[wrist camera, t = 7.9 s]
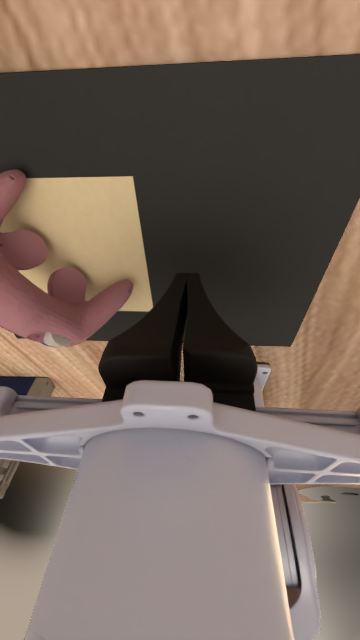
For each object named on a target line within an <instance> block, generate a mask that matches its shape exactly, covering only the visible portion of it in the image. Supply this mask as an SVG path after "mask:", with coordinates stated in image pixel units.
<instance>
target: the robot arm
mask: <svg viewBox="0 0 360 640" xmlns="http://www.w3.org/2000/svg"><path fill="white" fill-rule="evenodd" d="M186 320H187V322H186ZM185 326H186V330H185ZM184 332H185V338H184ZM183 338H184V344H183ZM182 344H183V358H184V382H180V368H181V352H182ZM98 369H99V373H100V375H101V377H102V379H103V381H104V383H105V385H106V389H105V393H104V396H103V399H84V398H64V397H43V396H23V395H17V393H16V392H15V391H14V390H13V389H11V388H9V387H5V386H0V459H8V460H17V461H24V462H32V463H38V464H46V465H51V466H58V467H64V468H71V469H77V474H76V477H75V480H74V483H73V486H72V489H71V493H70V496H69V499H68V502H67V505H66V508H65V511H64V515H63V518H62V521H61V524H60V528H59V530H58V534H57V537H56V540H55V543H54V546H53V550H52V553H51V556H50V559H49V562H48V565H47V568H46V571H45V575H44V578H43V581H42V584H41V587H40V591H39V594H38V597H37V600H36V603H35V606H34V609H33V613H32V616H31V619H30V622H29V625H28V628H27V631H26V635H25V638H24V640H314V639H316V637H317V636H318V634H319V632H320V624H319V619H320V618H321V617H322V613H321V607H320V603H319V597H318V591H317V585H316V580H317V577H316V576H317V575H316V567H315V560H314V555H313V549H312V544H311V539H310V534H309V530H308V525H307V521H306V517H305V513H304V509H303V505H302V501H301V498H300V494H299V491H298V489H297V487H296V486H295V485H294V484H360V408H359V409H358V410H357V411H356V412H351V411H331V410H310V409H289V408H269V407H265V405H264V400H263V394H262V391H263V388H264V386H265V384H266V381H267V379H268V376H269V374H270V372H271V366H270V365H267V364H257V362H256V359H255V356H254V353H253V351H252V349H251V346H250V344H248V343H247V342H246V341H244V340H243V339H242V338H241V337H239V336H238V335H237V334H236V333H235V332H234V331H233V330H232V329H231V328H230V327H229V326H228V325H227V324H226V323H225V322H224V320H223V319H222V318H221V317H220V315H219V314H218V313H217V311H216V310H215V308H214V307H213V305H212V303H211V302H210V300H209V298H208V296H207V294H206V292H205V290H204V287H203V285H202V282H201V278H200V274H199V273H176V274H175V276H174V278H173V280H172V282H171V283H170V285H169V287H168V288H167V290H166V291H165V293H164V294H163V296H162V297H161V298H160V300H159V301H158V302H157V303H156V305H155V306H154V307H153V308H152V309H151V310H150V311H149V312H148V313H147V314H146V315H145V316H144V317H143V318H142V319H141V320H139V321H138V322H137V323H136V324H134V325H133V326H132V327H130V328H129V329H128V330H126V331H124V332H123V333H121V334H119V335H118V336H116V337H114V338H113V339H111V340H109V342H108V344H107V346H106V348H105V350H104V352H103V355H102V357H101V360H100V363H99V367H98ZM281 484H282V488H281ZM282 492H283V493H282Z"/></svg>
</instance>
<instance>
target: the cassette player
mask: <svg viewBox="0 0 360 640" xmlns="http://www.w3.org/2000/svg"><path fill="white" fill-rule="evenodd" d="M0 386H5V387H9V388H11V389H13V390H14V391H15V392H16V393H17V395H23V396H43V397H50V396H51V394H52V392H53V389H54V386H53V385H52V382H51V381H50V380H49V378H35V377H0ZM19 462H20V461H17V460H8V459H0V498H3V496H4V494H5V492H6V490H7V488H8V486H9V484H10V481H11V479H12V477H13V475H14V473H15V471H16V468H17V466H18V464H19Z"/></svg>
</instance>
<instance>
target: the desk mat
mask: <svg viewBox="0 0 360 640" xmlns="http://www.w3.org/2000/svg"><path fill="white" fill-rule="evenodd" d="M14 169H17V170H20V171H22V172H23V173H24V174H25V176H26V184H25V187H24V189H23V191H22V193H21V194H20V196H19V198H18V200H17V201H16V202H15V204H14V205H13V207H12V208H11V210H10V211H9V212H8V214H7V215H6V216H5V218H4V219H3V222H2V225H1V227H0V232H1V233H6V232H13V231H17V230H30V231H33V232H35V233H36V234H38V235H39V236H40V237H41V238H42V239H43V240H44V242H45V243H46V245H47V248H48V257H47V259H46V260H45V262H44V263H42V264H41V265H39V266H37V267H34V268H32V269H28V270H18V271H19V272H20V273H21V274H22V275H23V276H25V277H26V278H27V279H28V280H30V281H31V282H32V283H33V284H34V285H36V286H37V287H39V288H40V289H41V290H43V291H44V292H46V293H47V294H48V290H47V284H48V280H49V277H50V275H51V274H52V273H53V272H55V271H57V270H59V269H62V268H64V267H71V268H75V269H77V270H78V271H80V272H81V273H82V274H83V275H84V277H85V279H86V282H87V287H86V292H85V300H86V301H89V300H91V299H92V298H93V297H94V296H96V295H97V294H98V293H100V292H101V291H103V290H104V289H106V288H107V287H109V286H110V285H112V284H114V283H116V282H118V281H122V280H125V279H128V280H130V281H131V282H132V283H133V290H132V293H131V295H130V297H129V299H128V300H127V302H126V303H125V304H124V305H123V306H122V308H120V309H119V310H118V311H117V312H116V313H115V314H114V315H113V316H112V317H111V318H110V319H109V320H108V321H107V322H106V323H105V324H104V325H103V326H102V327H101V328H100V329H98V330H97V331H96V332H95V333H94V334H93V335H92V336H90V337H89V338H88V339H86V340H91V341H109V340H111V339H113V338H114V337H116V336H118V335H119V334H121V333H123V332H124V331H126V330H128V329H129V328H130V327H132V326H133V325H134V324H136V323H137V322H138V321H139V320H141V319H142V318H143V317H144V316H145V315H146V314H147V313H148V312H149V311H150V310H151V309H152V308H153V307H154V306H155V305H156V303H157V302H158V301H159V300H160V298H161V297H162V296H163V294H164V293H165V291H166V290H167V288H168V287H169V285H170V283H171V282H172V280H173V278H174V276H175V274H176V273H199V274H200V278H201V282H202V285H203V287H204V290H205V292H206V294H207V296H208V298H209V300H210V302H211V303H212V305H213V307H214V308H215V310H216V311H217V313H218V314H219V315H220V317H221V318H222V319H223V320H224V322H225V323H226V324H227V325H228V326H229V327H230V328H231V329H232V330H233V331H234V332H235V333H236V334H237V335H238V336H239V337H241V338H242V339H243V340H244V341H246V342H247V343H248V344H250V345H255V346H288V347H291V345H292V343H293V341H294V338H295V336H296V334H297V332H298V330H299V328H300V325H301V323H302V321H303V319H304V317H305V315H306V312H307V310H308V308H309V306H310V304H311V302H312V300H313V297H314V295H315V293H316V291H317V289H318V287H319V284H320V282H321V280H322V278H323V276H324V274H325V271H326V269H327V267H328V265H329V263H330V261H331V258H332V256H333V254H334V252H335V250H336V248H337V246H338V243H339V241H340V239H341V237H342V235H343V233H344V230H345V228H346V226H347V224H348V222H349V220H350V217H351V215H352V213H353V211H354V209H355V207H356V204H357V202H358V200H359V198H360V54H352V55H333V56H314V57H296V58H277V59H258V60H239V61H220V62H201V63H182V64H163V65H144V66H125V67H106V68H87V69H69V70H50V71H31V72H12V73H0V173H2V172H4V171H7V170H14ZM186 322H187V320H186ZM185 330H186V326H185ZM14 335H15V336H16V337H17V338H24V337H21V336H19V335H16V334H14ZM184 338H185V332H184ZM184 338H183V343H184ZM26 339H27V338H26Z"/></svg>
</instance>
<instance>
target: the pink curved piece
mask: <svg viewBox="0 0 360 640" xmlns="http://www.w3.org/2000/svg"><path fill="white" fill-rule="evenodd" d="M25 184H26V176H25V174H24V173H23V172H22V171H20V170H17V169H14V170H7V171H4V172H2V173H0V227H1V225H2V222H3V219H4V218H5V216H6V215H7V214H8V212H9V211H10V210H11V208H12V207H13V205H14V204H15V202H16V201H17V200H18V198H19V196H20V194H21V193H22V191H23V189H24V187H25ZM47 257H48V248H47V245H46V243H45V242H44V240H43V239H42V238H41V237H40V236H39V235H38V234H36V233H35V232H33V231H30V230H17V231H13V232H6V233H1V232H0V327H2V328H4V329H6V330H8V331H10V332H12V333H14V334H16V335H19V336H21V337H24V338H27V339H30V340H33V341H36V342H40V343H42V344H44V345H47V346H51V347H62V346H64V347H68V346H74V345H77V344H79V343H81V342H83V341H85V340H86V339H88V338H89V337H90V336H92V335H93V334H94V333H95V332H96V331H97V330H98V329H100V328H101V327H102V326H103V325H104V324H105V323H106V322H107V321H108V320H109V319H110V318H111V317H112V316H113V315H114V314H115V313H116V312H117V311H118V310H119V309H120V308H122V306H123V305H124V304H125V303H126V302H127V300H128V299H129V297H130V295H131V293H132V290H133V283H132V282H131V281H130V280H128V279H125V280H122V281H118V282H116V283H114V284H112V285H110V286H109V287H107V288H106V289H104V290H103V291H101V292H100V293H98V294H97V295H96V296H94V297H93V298H92V299H91V300H89V301H86V300H85V292H86V287H87V282H86V279H85V277H84V275H83V274H82V273H81V272H80V271H78V270H77V269H75V268H71V267H64V268H62V269H59V270H57V271H55V272H53V273H52V274H51V275H50V277H49V280H48V284H47V290H48V294H47V293H46V292H44V291H43V290H41V289H40V288H39V287H37V286H36V285H34V284H33V283H32V282H31V281H30V280H28V279H27V278H26V277H25V276H23V275H22V274H21V273H20V272H19V271H18V270H28V269H32V268H34V267H37V266H39V265H41V264H42V263H44V262H45V260H46V259H47Z"/></svg>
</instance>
